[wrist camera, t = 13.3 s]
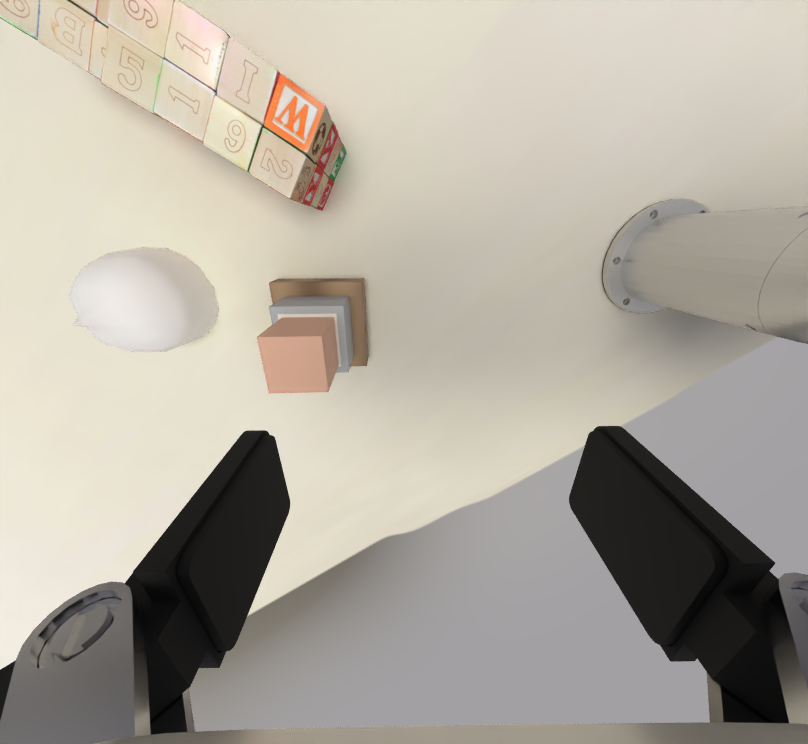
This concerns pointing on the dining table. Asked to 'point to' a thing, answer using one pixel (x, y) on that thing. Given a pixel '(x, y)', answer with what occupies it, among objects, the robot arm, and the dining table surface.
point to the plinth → (332, 288)
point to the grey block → (322, 308)
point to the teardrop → (144, 300)
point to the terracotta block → (299, 354)
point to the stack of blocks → (196, 85)
